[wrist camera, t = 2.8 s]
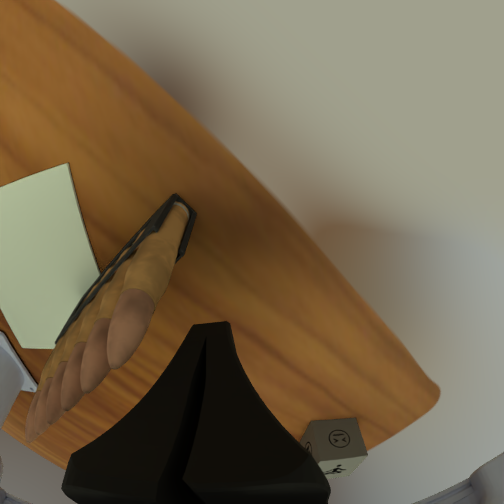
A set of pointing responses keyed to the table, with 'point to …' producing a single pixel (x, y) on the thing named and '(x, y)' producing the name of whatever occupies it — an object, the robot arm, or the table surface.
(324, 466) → the dice cube
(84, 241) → the mat
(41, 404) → the ammunition clip
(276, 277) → the table surface
